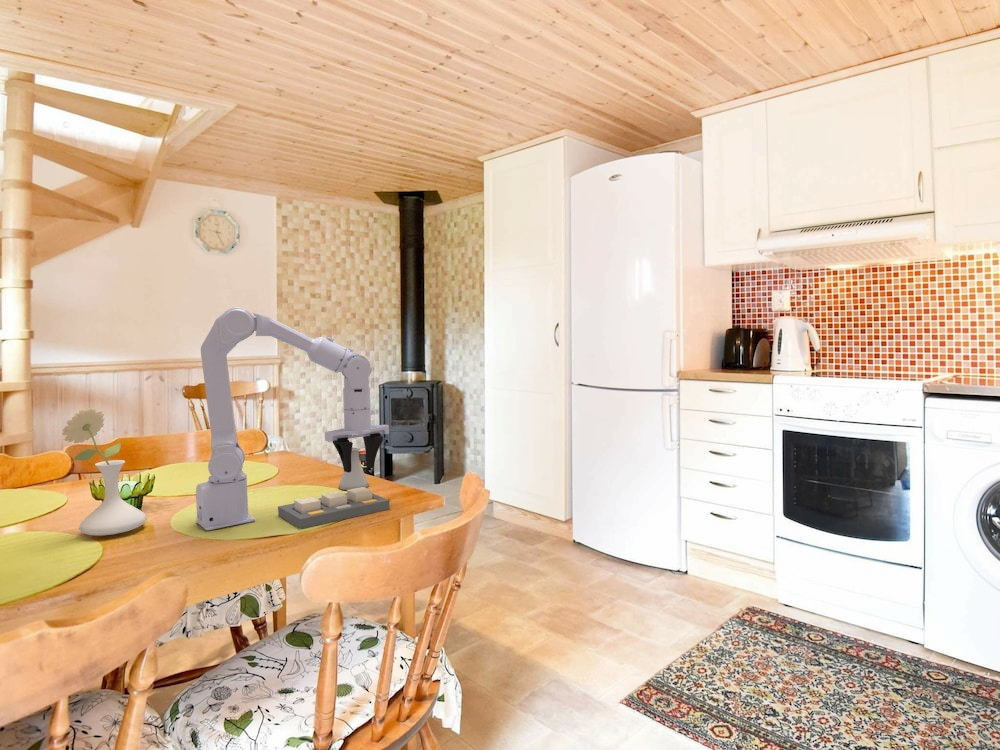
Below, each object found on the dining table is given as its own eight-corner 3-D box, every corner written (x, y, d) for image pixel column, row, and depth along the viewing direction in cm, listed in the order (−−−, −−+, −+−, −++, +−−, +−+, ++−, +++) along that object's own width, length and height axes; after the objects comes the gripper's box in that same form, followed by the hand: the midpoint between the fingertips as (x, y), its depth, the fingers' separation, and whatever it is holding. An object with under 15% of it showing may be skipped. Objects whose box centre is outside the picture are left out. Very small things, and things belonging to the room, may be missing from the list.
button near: (302, 513, 124) (301, 504, 124) (294, 509, 127) (294, 500, 127) (320, 509, 127) (320, 500, 127) (312, 505, 130) (312, 496, 130)
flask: (332, 489, 151) (331, 449, 150) (352, 483, 157) (351, 444, 156) (355, 492, 147) (354, 452, 147) (374, 485, 154) (373, 446, 153)
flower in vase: (134, 519, 128) (127, 401, 127) (156, 529, 121) (150, 405, 119) (60, 535, 118) (52, 408, 117) (80, 547, 111) (72, 412, 109)
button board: (300, 529, 120) (300, 518, 120) (278, 515, 129) (278, 505, 129) (389, 509, 133) (389, 499, 133) (363, 498, 142) (363, 489, 142)
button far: (355, 502, 132) (355, 493, 132) (347, 498, 135) (347, 490, 135) (372, 499, 134) (372, 490, 134) (363, 495, 138) (363, 486, 137)
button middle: (329, 507, 128) (329, 498, 128) (321, 504, 131) (321, 494, 131) (347, 504, 131) (347, 495, 130) (339, 500, 134) (338, 491, 134)
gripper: (334, 413, 126) (336, 478, 127) (395, 407, 135) (396, 467, 136) (319, 410, 131) (321, 472, 132) (379, 404, 140) (381, 462, 141)
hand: (358, 469), depth 134 cm, fingers open, 5 cm apart
